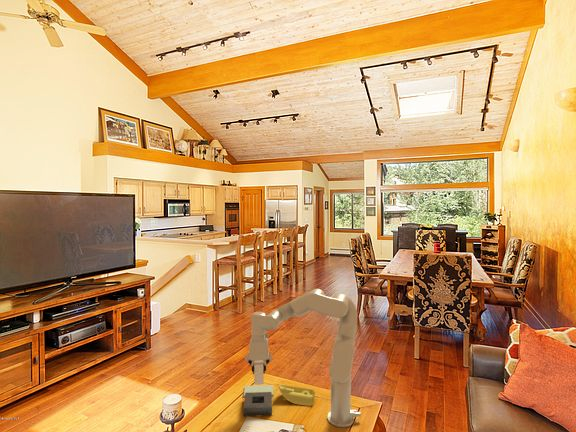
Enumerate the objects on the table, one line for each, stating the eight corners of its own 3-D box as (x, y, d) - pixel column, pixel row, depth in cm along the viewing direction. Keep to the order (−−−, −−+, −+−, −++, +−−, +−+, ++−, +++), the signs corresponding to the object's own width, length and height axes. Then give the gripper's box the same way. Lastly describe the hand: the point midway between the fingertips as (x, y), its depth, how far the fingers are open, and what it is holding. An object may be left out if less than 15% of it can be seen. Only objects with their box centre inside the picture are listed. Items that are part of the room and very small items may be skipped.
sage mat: (272, 386, 189) (272, 384, 189) (273, 396, 179) (273, 394, 179) (244, 387, 188) (244, 385, 188) (243, 397, 178) (243, 395, 178)
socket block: (271, 399, 176) (271, 391, 176) (272, 415, 162) (272, 407, 162) (245, 400, 175) (245, 392, 175) (243, 416, 161) (243, 408, 161)
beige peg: (263, 379, 171) (263, 360, 171) (263, 384, 166) (263, 364, 166) (254, 379, 171) (254, 360, 171) (254, 384, 166) (254, 364, 166)
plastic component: (315, 390, 182) (314, 390, 173) (313, 405, 179) (313, 406, 170) (279, 384, 184) (277, 384, 175) (277, 399, 181) (275, 400, 172)
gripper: (275, 334, 173) (275, 368, 173) (242, 334, 172) (242, 369, 172) (275, 339, 165) (275, 375, 165) (241, 340, 164) (241, 376, 164)
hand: (258, 372), depth 168 cm, fingers closed on beige peg, 4 cm apart
